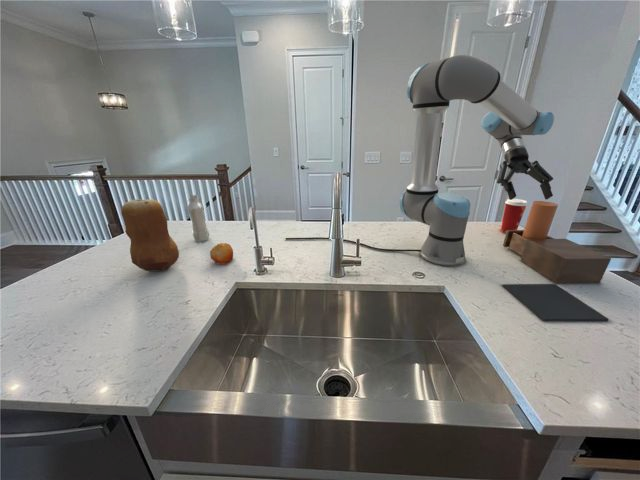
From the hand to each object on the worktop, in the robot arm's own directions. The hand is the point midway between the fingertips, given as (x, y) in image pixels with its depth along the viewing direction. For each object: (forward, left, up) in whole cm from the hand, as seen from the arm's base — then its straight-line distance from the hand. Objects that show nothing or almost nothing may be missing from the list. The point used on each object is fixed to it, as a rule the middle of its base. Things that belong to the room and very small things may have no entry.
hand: (531, 197), depth 98 cm
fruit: (-116, -12, -21) cm, 119 cm away
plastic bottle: (-133, +9, -21) cm, 135 cm away
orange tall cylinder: (0, -7, -18) cm, 20 cm away
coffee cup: (+8, +17, -21) cm, 28 cm away
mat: (-16, -37, -20) cm, 45 cm away
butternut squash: (-137, -17, -21) cm, 140 cm away
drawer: (0, -6, -19) cm, 20 cm away
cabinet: (0, -20, -20) cm, 29 cm away
